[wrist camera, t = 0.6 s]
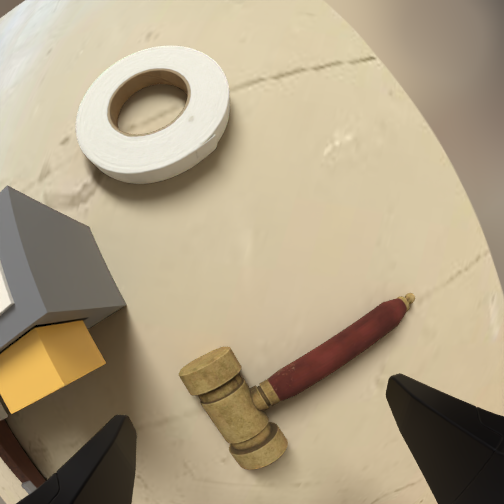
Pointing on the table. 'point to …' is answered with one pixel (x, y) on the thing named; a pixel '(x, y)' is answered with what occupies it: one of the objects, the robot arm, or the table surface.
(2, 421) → the brown and grey bar
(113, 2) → the table surface
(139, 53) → the roll of tape
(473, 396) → the table surface
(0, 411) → the grey button
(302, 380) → the gavel
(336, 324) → the table surface
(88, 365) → the amber button
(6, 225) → the console
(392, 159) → the table surface
